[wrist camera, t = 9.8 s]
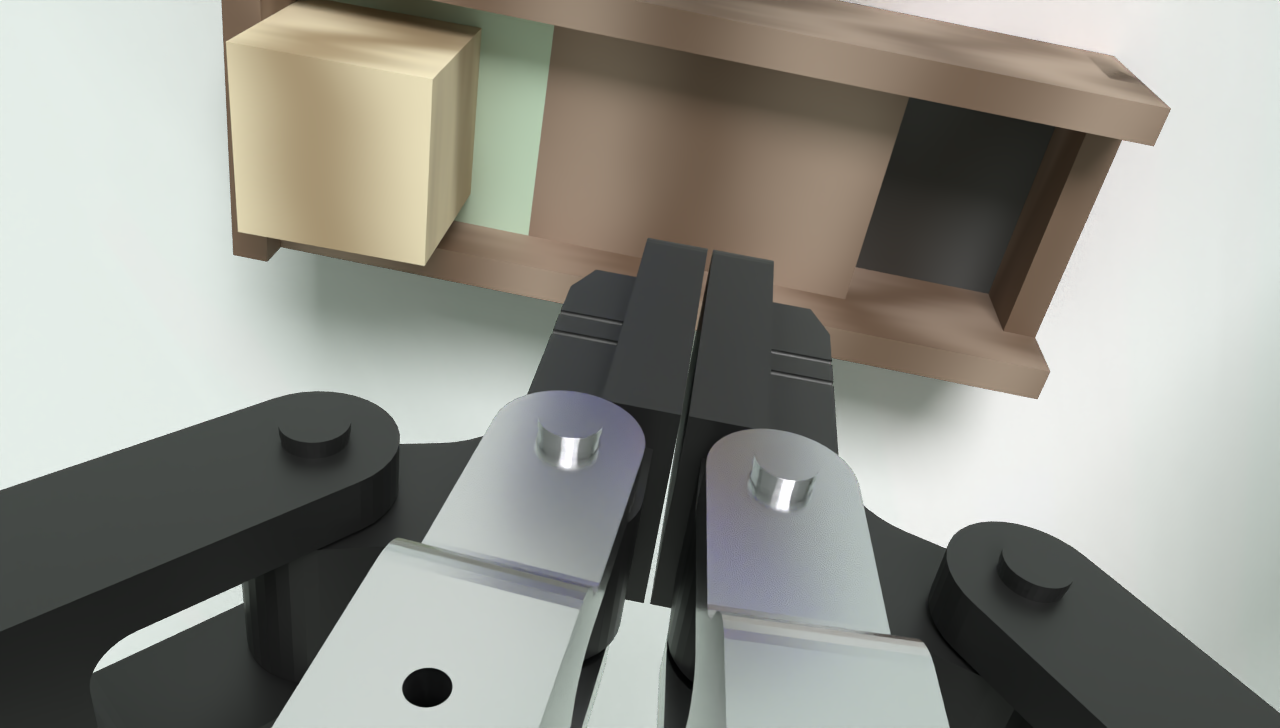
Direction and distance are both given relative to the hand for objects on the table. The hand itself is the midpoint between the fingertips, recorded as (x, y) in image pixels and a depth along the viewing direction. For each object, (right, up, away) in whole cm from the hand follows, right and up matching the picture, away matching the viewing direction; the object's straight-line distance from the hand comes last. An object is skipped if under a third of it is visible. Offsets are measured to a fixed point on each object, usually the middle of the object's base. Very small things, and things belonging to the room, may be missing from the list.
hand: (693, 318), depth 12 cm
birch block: (-8, +7, +18) cm, 21 cm away
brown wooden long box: (+1, +7, +20) cm, 21 cm away
